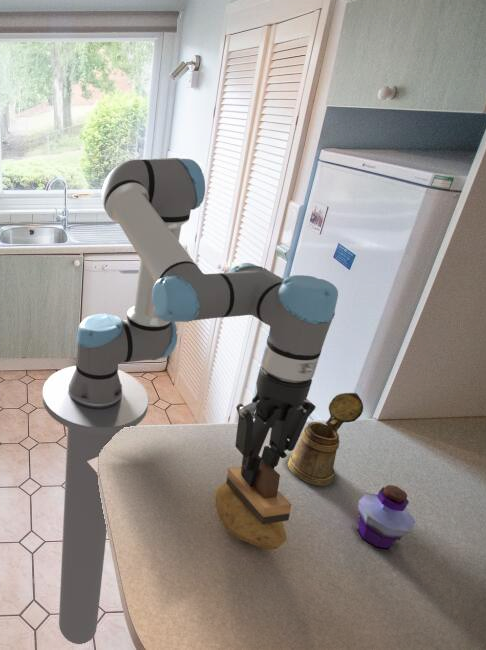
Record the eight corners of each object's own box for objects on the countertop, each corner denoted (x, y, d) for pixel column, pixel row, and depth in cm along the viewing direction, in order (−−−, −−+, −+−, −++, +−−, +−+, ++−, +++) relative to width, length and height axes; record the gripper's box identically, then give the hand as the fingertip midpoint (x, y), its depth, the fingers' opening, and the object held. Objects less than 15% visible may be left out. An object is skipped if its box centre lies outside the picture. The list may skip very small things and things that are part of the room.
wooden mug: (353, 468, 102) (379, 404, 94) (316, 491, 96) (342, 424, 88) (314, 444, 109) (336, 382, 101) (278, 464, 103) (299, 399, 96)
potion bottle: (400, 530, 88) (423, 485, 82) (404, 566, 81) (430, 519, 76) (348, 510, 92) (366, 466, 87) (348, 543, 85) (368, 496, 80)
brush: (226, 483, 88) (230, 447, 86) (249, 480, 89) (254, 444, 86) (262, 524, 78) (268, 485, 75) (288, 520, 78) (295, 481, 76)
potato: (256, 574, 80) (266, 543, 76) (199, 513, 91) (205, 484, 88) (294, 552, 83) (305, 522, 80) (234, 497, 95) (242, 468, 91)
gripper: (256, 389, 68) (227, 501, 78) (347, 379, 70) (307, 490, 81) (229, 363, 75) (205, 469, 85) (312, 355, 77) (280, 459, 87)
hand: (255, 479), depth 83 cm, fingers closed on brush, 2 cm apart
